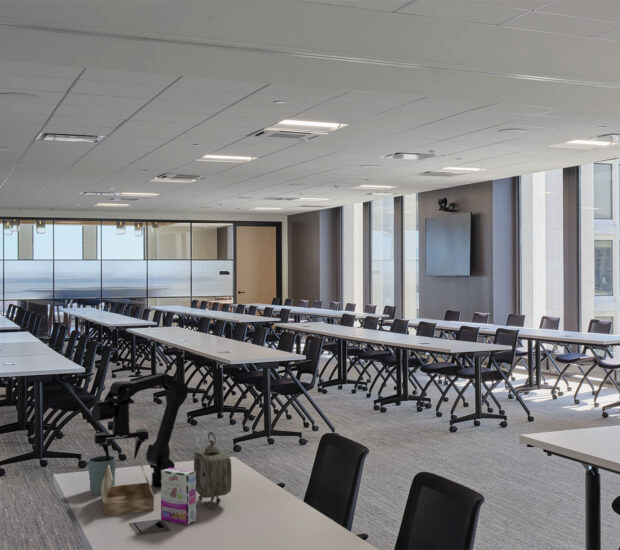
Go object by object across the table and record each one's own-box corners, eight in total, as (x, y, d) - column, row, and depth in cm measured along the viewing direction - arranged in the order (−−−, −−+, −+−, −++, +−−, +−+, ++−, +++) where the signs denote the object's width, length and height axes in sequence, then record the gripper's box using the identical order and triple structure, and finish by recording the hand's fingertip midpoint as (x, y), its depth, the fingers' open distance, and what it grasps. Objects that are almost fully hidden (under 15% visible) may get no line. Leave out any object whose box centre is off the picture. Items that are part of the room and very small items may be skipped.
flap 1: (109, 465, 265) (108, 465, 265) (113, 479, 247) (111, 479, 246) (101, 487, 264) (100, 486, 264) (104, 503, 246) (103, 502, 246)
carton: (147, 493, 269) (147, 482, 269) (153, 510, 250) (153, 498, 250) (101, 498, 264) (101, 486, 264) (104, 515, 245) (104, 503, 245)
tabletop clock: (193, 499, 262) (193, 429, 262) (217, 496, 266) (217, 427, 266) (207, 511, 249) (207, 437, 249) (232, 507, 254) (232, 434, 253)
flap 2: (145, 477, 250) (146, 476, 250) (139, 463, 268) (140, 462, 268) (153, 498, 251) (154, 497, 251) (147, 483, 269) (148, 482, 269)
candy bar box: (197, 521, 240) (197, 470, 240) (187, 526, 235) (187, 474, 235) (169, 515, 245) (169, 466, 245) (160, 520, 241) (160, 470, 241)
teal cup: (111, 495, 268) (111, 462, 268) (83, 494, 268) (83, 461, 268) (119, 486, 278) (119, 455, 278) (92, 486, 278) (92, 455, 278)
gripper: (144, 410, 278) (145, 452, 278) (93, 414, 271) (93, 457, 272) (148, 416, 267) (149, 459, 267) (94, 420, 261) (95, 464, 261)
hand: (121, 459), depth 267 cm, fingers open, 9 cm apart
